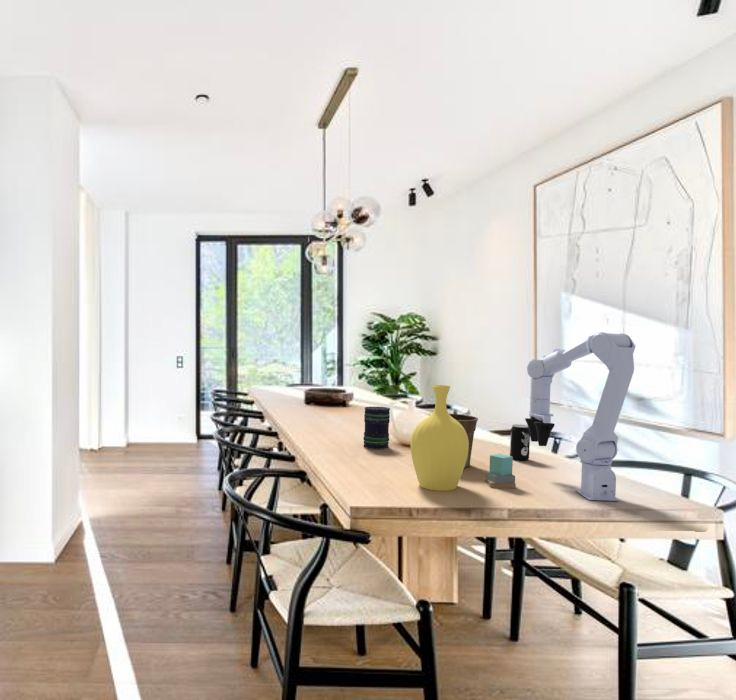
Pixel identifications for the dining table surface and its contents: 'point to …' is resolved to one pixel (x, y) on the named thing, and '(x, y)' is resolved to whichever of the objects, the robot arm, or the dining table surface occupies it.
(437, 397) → the vase
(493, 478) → the grey slab
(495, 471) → the teal block
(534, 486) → the dining table surface
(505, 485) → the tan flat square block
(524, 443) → the beverage can
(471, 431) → the plant pot
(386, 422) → the storage jar
